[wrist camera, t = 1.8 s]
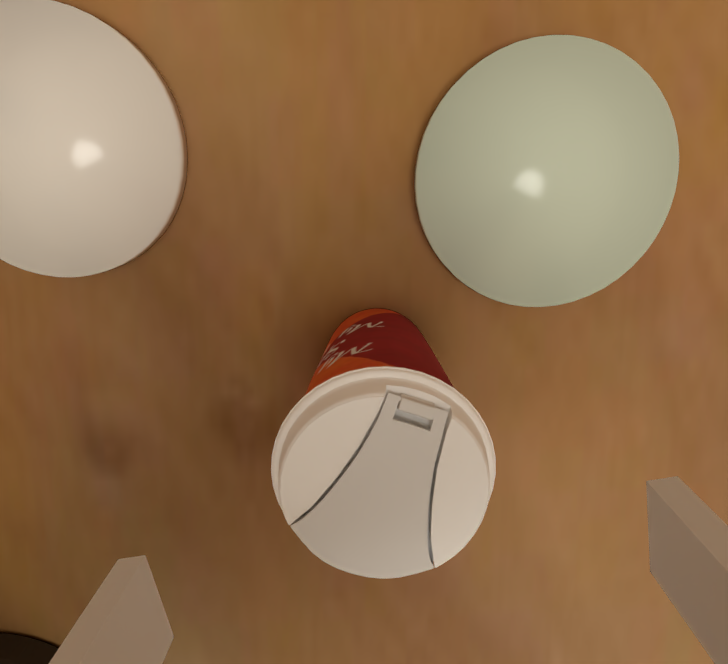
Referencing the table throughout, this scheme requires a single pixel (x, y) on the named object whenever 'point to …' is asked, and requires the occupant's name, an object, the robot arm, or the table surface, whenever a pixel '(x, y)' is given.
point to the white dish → (82, 143)
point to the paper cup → (382, 454)
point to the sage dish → (547, 170)
